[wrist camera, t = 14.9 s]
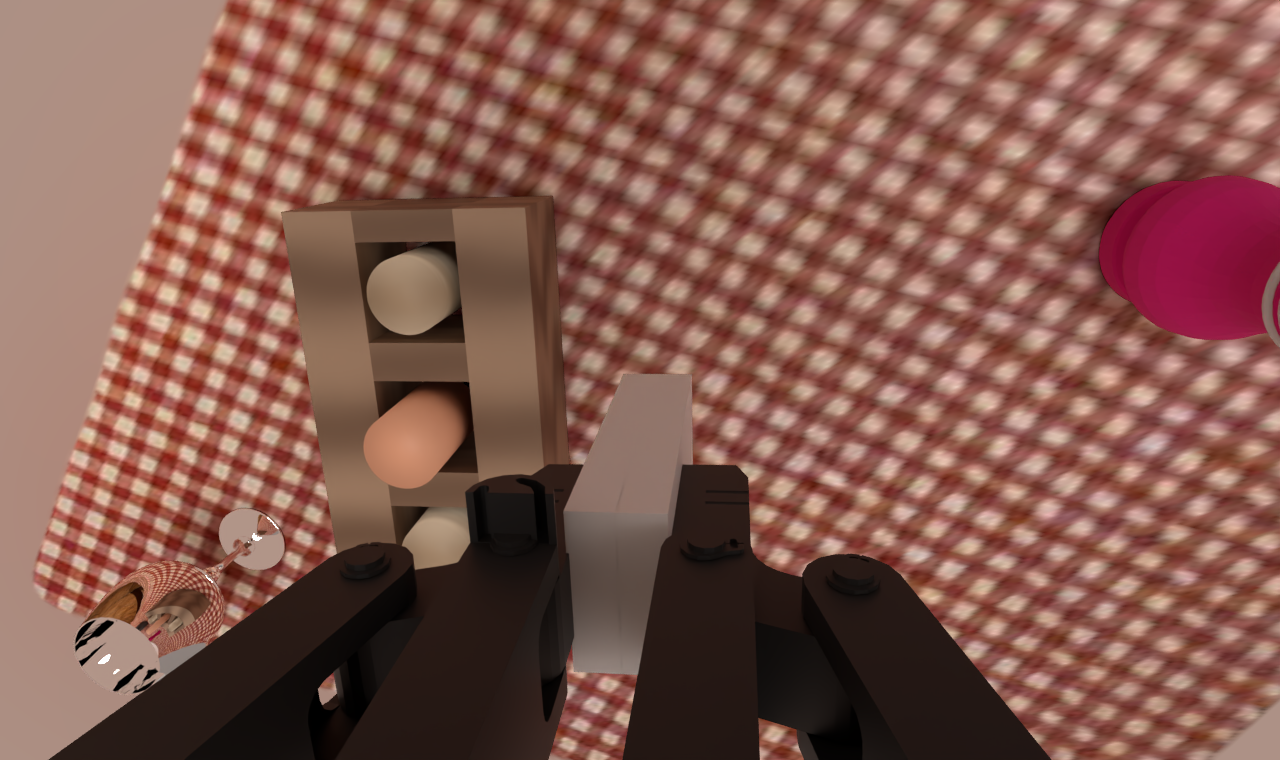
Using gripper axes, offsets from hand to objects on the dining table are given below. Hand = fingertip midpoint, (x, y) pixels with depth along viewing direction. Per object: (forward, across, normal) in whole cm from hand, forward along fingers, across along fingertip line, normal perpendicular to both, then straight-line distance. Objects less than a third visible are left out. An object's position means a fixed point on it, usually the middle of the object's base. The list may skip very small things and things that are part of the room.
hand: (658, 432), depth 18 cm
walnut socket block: (+26, -14, -8) cm, 31 cm away
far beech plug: (+26, -14, -15) cm, 33 cm away
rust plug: (+23, -14, -8) cm, 28 cm away
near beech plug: (+26, -14, -1) cm, 29 cm away
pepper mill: (+27, +23, 0) cm, 35 cm away
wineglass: (+27, -29, -18) cm, 43 cm away
